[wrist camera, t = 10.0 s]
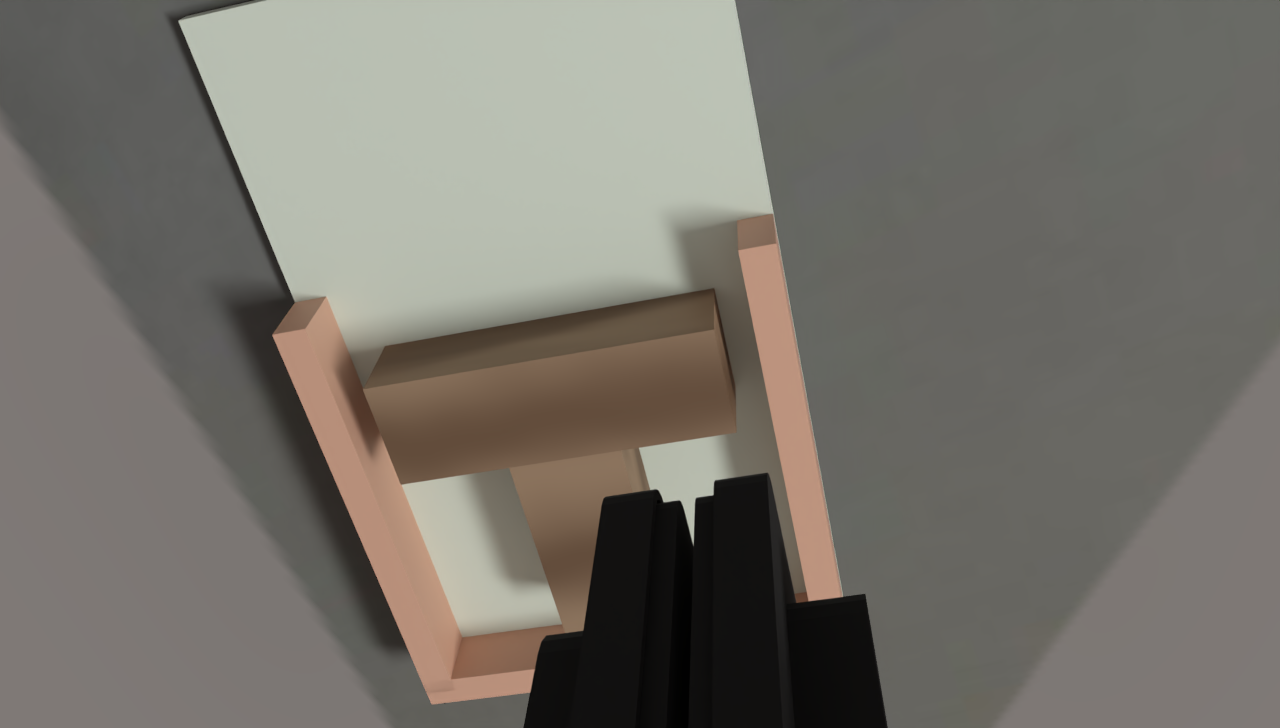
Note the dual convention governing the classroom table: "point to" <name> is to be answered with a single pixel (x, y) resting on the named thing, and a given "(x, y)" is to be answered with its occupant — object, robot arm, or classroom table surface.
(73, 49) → the classroom table surface
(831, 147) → the classroom table surface
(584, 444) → the t block
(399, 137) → the mat
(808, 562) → the pocket
